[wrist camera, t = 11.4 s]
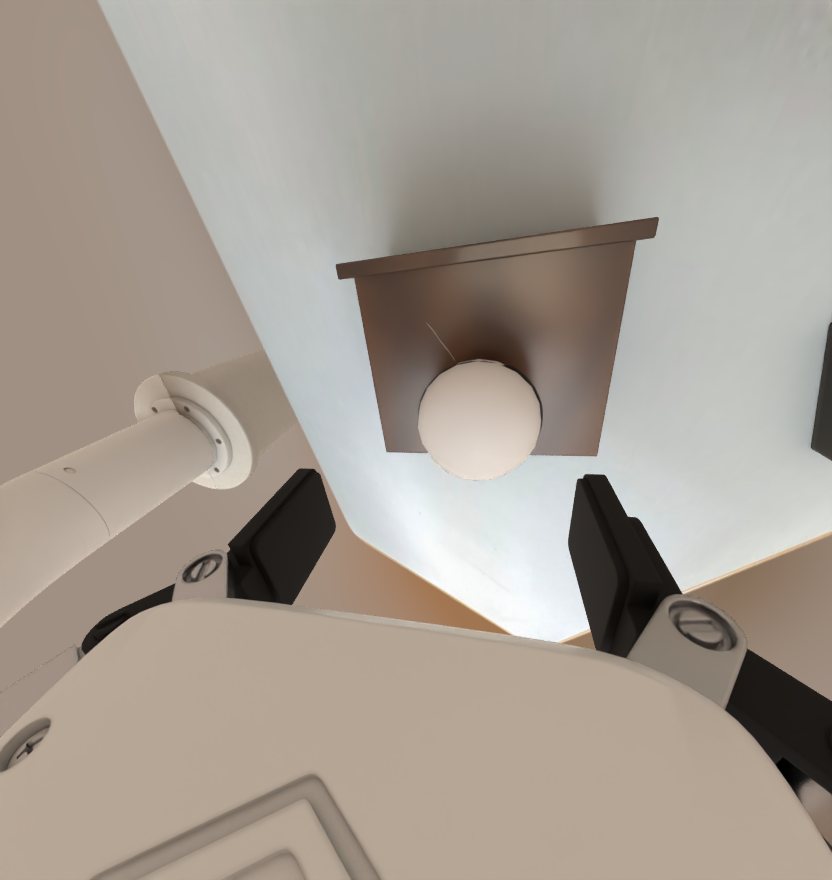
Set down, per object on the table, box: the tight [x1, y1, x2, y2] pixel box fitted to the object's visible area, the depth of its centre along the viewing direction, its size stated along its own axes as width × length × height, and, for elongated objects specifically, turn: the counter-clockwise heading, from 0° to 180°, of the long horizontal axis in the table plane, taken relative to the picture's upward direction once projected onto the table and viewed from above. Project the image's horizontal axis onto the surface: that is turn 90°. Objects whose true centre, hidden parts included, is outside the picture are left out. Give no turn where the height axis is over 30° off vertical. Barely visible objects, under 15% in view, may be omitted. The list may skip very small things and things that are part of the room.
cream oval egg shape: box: [418, 325, 543, 481], centre depth 19 cm, size 10×7×7 cm
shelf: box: [336, 217, 659, 456], centre depth 24 cm, size 16×14×10 cm
